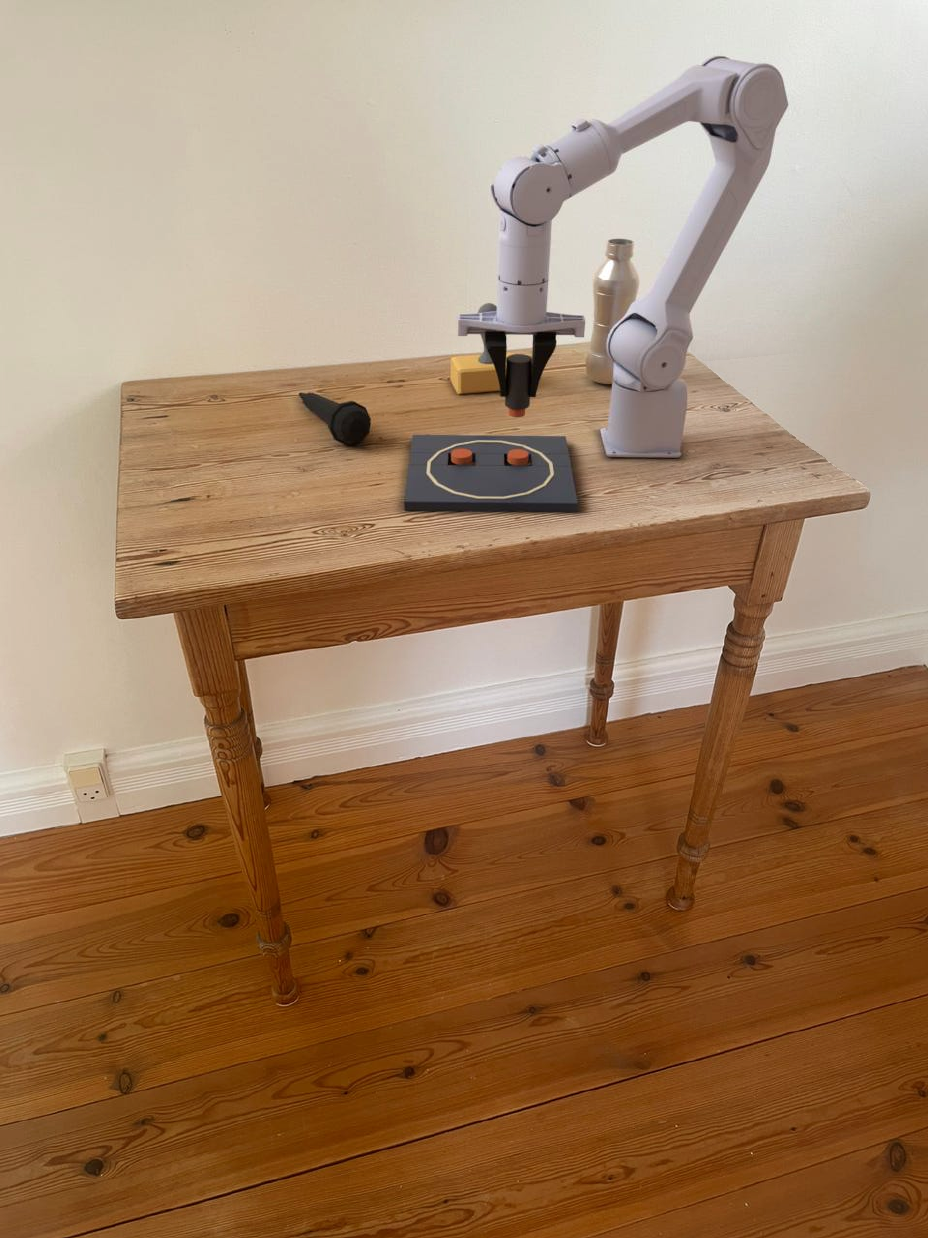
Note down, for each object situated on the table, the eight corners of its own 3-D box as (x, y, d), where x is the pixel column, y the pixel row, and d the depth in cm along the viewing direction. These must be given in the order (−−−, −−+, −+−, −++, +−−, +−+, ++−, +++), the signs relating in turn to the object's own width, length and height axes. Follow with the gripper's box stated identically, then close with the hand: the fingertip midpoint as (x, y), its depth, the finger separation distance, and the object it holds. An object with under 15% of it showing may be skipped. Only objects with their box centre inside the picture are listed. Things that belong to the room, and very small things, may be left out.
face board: (564, 444, 121) (565, 435, 120) (577, 512, 106) (578, 502, 106) (412, 442, 121) (412, 433, 120) (404, 510, 106) (404, 500, 106)
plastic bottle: (631, 389, 136) (648, 248, 124) (585, 389, 136) (598, 247, 124) (626, 373, 141) (642, 235, 129) (582, 372, 141) (593, 235, 130)
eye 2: (527, 456, 116) (528, 448, 115) (528, 465, 114) (529, 458, 113) (507, 456, 116) (507, 448, 115) (507, 465, 114) (508, 458, 113)
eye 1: (472, 455, 116) (472, 448, 115) (472, 465, 114) (472, 457, 113) (451, 455, 116) (451, 448, 115) (451, 464, 114) (451, 457, 113)
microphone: (293, 421, 133) (350, 458, 118) (275, 385, 130) (331, 419, 115) (324, 402, 135) (385, 437, 120) (308, 367, 131) (367, 398, 116)
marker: (528, 409, 114) (531, 353, 110) (529, 419, 111) (532, 363, 107) (504, 409, 114) (506, 353, 110) (504, 419, 111) (506, 362, 107)
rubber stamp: (514, 375, 140) (517, 295, 133) (524, 389, 136) (528, 307, 129) (450, 380, 138) (450, 299, 131) (458, 395, 134) (458, 312, 127)
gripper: (584, 268, 106) (575, 381, 114) (458, 267, 106) (458, 380, 114) (590, 286, 100) (580, 404, 108) (457, 285, 100) (457, 403, 108)
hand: (518, 393), depth 111 cm, fingers closed on marker, 3 cm apart
